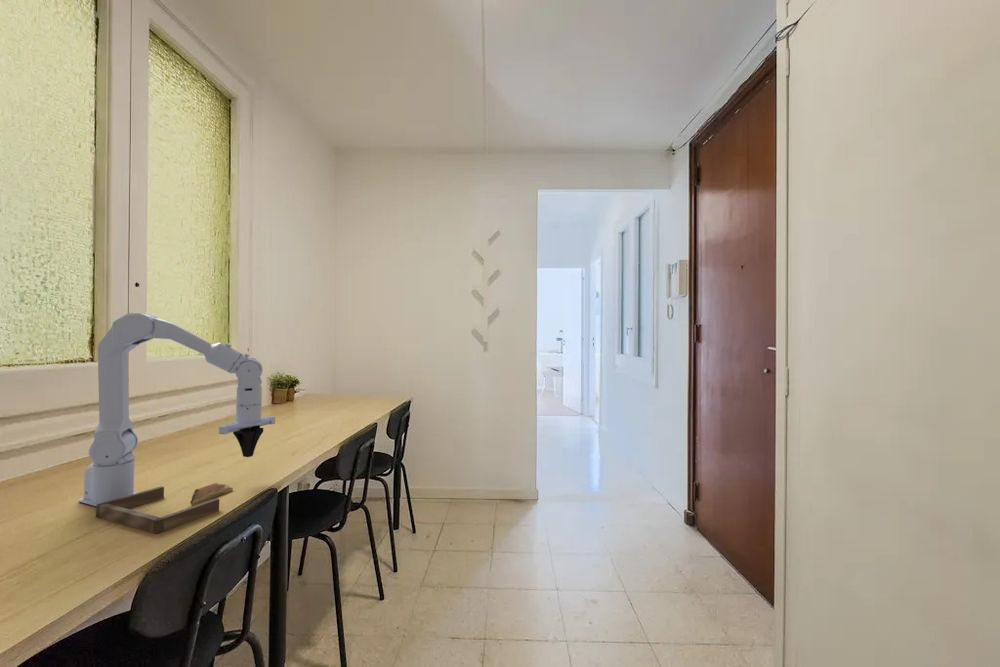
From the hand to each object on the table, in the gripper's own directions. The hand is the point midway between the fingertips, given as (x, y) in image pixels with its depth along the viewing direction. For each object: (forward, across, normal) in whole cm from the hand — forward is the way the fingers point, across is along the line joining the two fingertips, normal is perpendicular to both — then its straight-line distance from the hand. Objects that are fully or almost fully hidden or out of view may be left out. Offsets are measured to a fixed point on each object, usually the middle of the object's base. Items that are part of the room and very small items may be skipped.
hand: (247, 456), depth 110 cm
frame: (+7, -20, 0) cm, 21 cm away
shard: (+8, -9, 0) cm, 12 cm away
